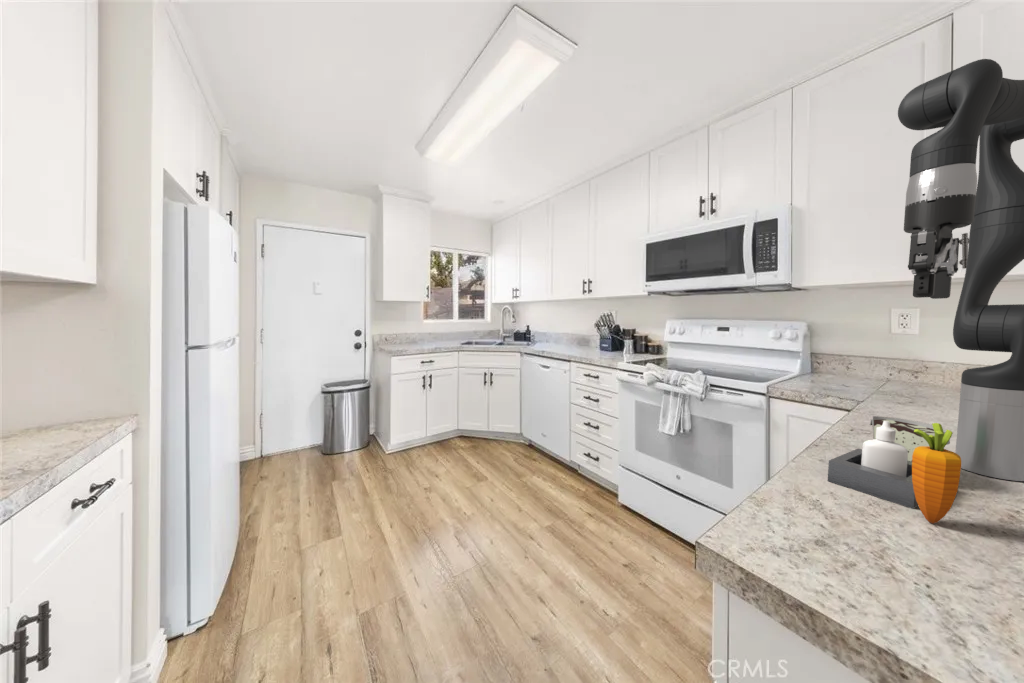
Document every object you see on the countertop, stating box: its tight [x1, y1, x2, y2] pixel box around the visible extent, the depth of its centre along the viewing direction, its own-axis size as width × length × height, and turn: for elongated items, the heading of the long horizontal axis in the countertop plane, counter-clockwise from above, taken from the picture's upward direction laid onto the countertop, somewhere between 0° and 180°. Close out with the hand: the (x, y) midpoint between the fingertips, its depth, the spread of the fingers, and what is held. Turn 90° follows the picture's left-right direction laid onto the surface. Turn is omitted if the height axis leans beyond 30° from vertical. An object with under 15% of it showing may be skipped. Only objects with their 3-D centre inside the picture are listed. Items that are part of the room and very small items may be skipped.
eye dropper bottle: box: [861, 421, 908, 477], centre depth 64 cm, size 4×6×12 cm
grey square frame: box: [827, 448, 919, 510], centre depth 65 cm, size 13×11×4 cm
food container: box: [869, 415, 951, 461], centre depth 70 cm, size 12×6×10 cm, turn 179°
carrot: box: [912, 422, 962, 525], centre depth 53 cm, size 5×5×15 cm
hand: (931, 297), depth 60 cm, fingers open, 8 cm apart
